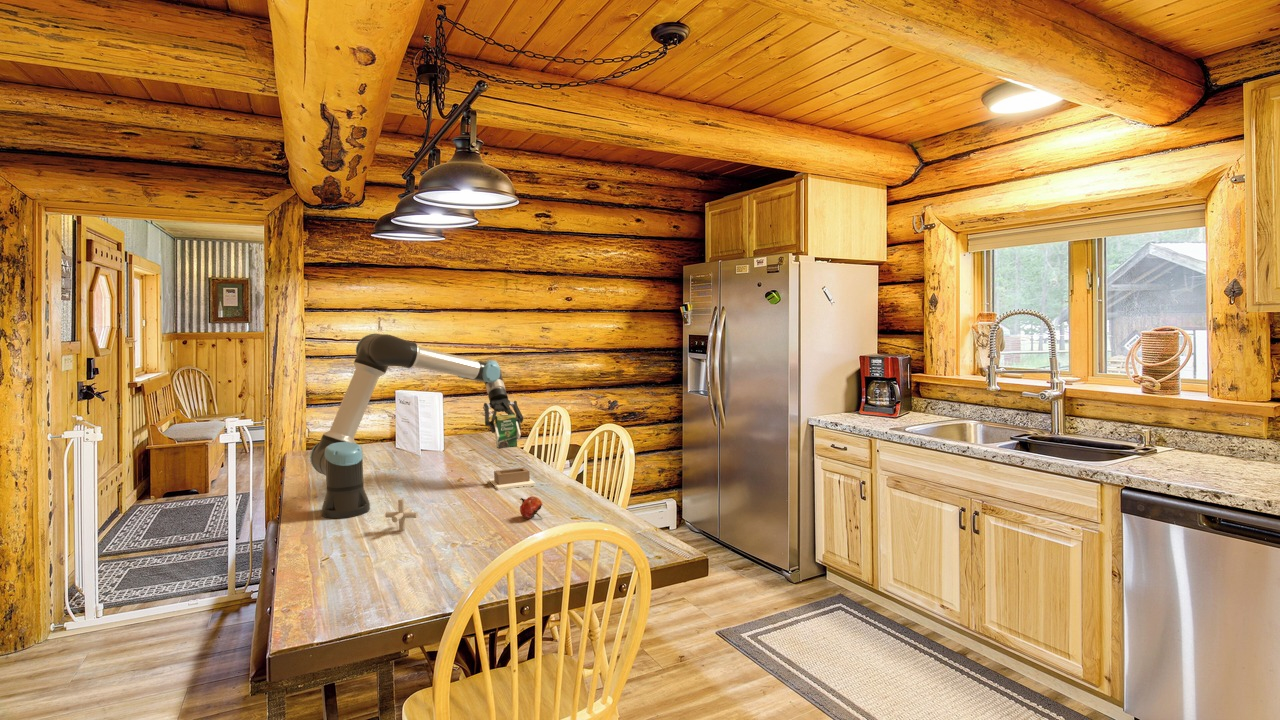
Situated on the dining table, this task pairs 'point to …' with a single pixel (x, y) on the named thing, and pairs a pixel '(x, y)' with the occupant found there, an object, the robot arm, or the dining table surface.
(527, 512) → the pomegranate
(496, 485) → the socket board
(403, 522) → the pipe connector
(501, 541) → the dining table surface
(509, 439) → the coffee box
